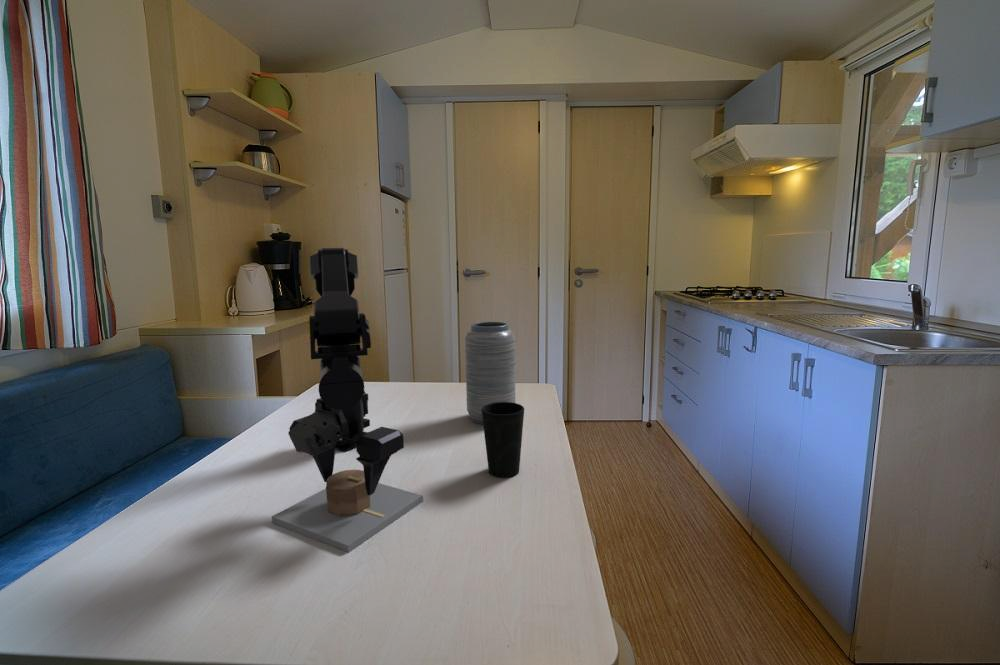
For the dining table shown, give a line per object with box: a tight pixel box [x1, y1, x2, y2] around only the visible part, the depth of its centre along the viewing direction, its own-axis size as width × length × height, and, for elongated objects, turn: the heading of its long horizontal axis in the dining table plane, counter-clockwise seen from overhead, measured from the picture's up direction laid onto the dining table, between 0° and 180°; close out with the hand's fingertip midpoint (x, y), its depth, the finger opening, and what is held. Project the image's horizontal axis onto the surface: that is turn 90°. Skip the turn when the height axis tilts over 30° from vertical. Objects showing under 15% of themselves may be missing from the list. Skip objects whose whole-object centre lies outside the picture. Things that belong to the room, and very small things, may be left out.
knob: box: [325, 469, 370, 516], centre depth 79 cm, size 6×6×5 cm
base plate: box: [271, 482, 424, 553], centre depth 79 cm, size 16×16×4 cm
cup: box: [481, 402, 525, 479], centre depth 92 cm, size 8×8×12 cm
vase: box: [464, 321, 517, 425], centre depth 120 cm, size 12×12×23 cm
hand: (348, 487), depth 79 cm, fingers open, 9 cm apart
